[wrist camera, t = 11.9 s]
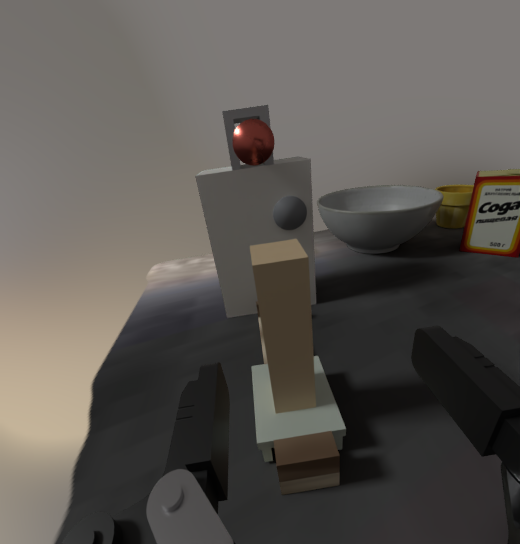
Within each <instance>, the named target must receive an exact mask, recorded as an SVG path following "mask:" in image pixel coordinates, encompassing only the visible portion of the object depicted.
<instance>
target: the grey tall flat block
mask: <svg viewBox="0 0 520 544" xmlns="http://www.w3.org/2000/svg"><path fill="white" fill-rule="evenodd" d="M223 118H224V124H225V129H226V136H227V142H228V148H229V154H230V160H231V167H224V168H218V169H211V170H204V171H201V172H200V173H198V174H197V175H196V181H197V185H198V190H199V194H200V199H201V203H202V207H203V212H204V216H205V221H206V225H207V229H208V234H209V238H210V242H211V247H212V252H213V256H214V261H215V265H216V269H217V274H218V278H219V283H220V287H221V291H222V296H223V300H224V305H225V309H226V314H227V318H230V317H237V316H243V315H250V314H256V313H258V312H257V306H256V301H258V299H257V293H256V286H255V280H254V274H253V267H252V260H251V253H250V246H252V245H259V244H265V243H272V242H279V241H285V240H292V239H297V240H298V242H299V243H300V245H301V246H302V248H303V249H304V251H305V252H306V254H307V256H308V258H309V277H310V297H311V305H314V304H316V284H315V259H314V234H313V210H312V186H311V163H310V162H311V160H310V159H307V158H302V157H293V158H286V159H279V160H273V152H272V154H271V156H270V157H269V158H268V160H266V161H265V162H264V163H262V164H260V165H248V164H245V165H240V160H239V158H238V157H237V156H236V154H235V152H234V149H233V143H232V142H233V135H234V132H235V127H234V124H235V123H242V122H243V121H245V120H248V119H258V120H261V121H263V122H264V123H266V124H267V125H268V126H269V128H270V119H269V110H268V105H264V106H257V107H250V108H243V109H236V110H229V111H223Z"/></svg>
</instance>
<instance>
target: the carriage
mask: <svg viewBox="0 0 520 544" xmlns="http://www.w3.org/2000/svg"><path fill="white" fill-rule="evenodd" d="M250 253H251V260H252V267H253V274H254V280H255V286H256V293H257V299H258V305H259V312H260V318H261V324H262V331H263V337H264V343H265V350H266V356H267V362H268V364H263V365H257V366H252V378H253V393H254V407H255V421H256V435H257V445H258V450H262V453H263V457H264V462H268V461H273V457H272V448H274V441H273V440H278V439H284V438H290V437H296V436H302V435H308V434H314V433H320V432H326V431H332V434H333V437H334V440H335V443H336V446H337V449H338V450H341V449H342V443H343V436H346V427H345V425H344V422H343V420H342V417H341V414H340V412H339V409H338V407H337V404H336V402H335V399H334V396H333V394H332V391H331V389H330V386H329V383H328V381H327V378H326V376H325V373H324V371H323V368H322V365H321V363H320V360H319V358H318V356H314V355H313V335H312V316H311V297H310V277H309V258H308V256H307V254H306V252H305V251H304V249H303V248H302V246H301V245H300V243H299V242H298V240H297V239H292V240H285V241H279V242H272V243H265V244H259V245H252V246H250Z"/></svg>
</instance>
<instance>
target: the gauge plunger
mask: <svg viewBox="0 0 520 544" xmlns="http://www.w3.org/2000/svg"><path fill="white" fill-rule="evenodd" d="M232 143H233V149H234V152H235V154H236V156H237V157H238V158H239V159H240V160H241V161H242V162H243V163H245V164H248V165H260V164H262V163H264V162H265V161H266V160H268V158H269V157H270V156H271V154H272V152H273V149H274V136H273V133H272V131H271V129H270V128H269V126H268V125H267V124H266V123H264V122H263V121H261V120H258V119H248V120H245V121H243V122H242V123H241V124H240V125H239V126H238V127H237V128H236V130H235V132H234V135H233V142H232Z"/></svg>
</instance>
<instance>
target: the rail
mask: <svg viewBox="0 0 520 544" xmlns="http://www.w3.org/2000/svg"><path fill="white" fill-rule="evenodd" d="M256 306H257V312H258V318H259V326H260V334H261V342H262V349H263V357H264V364H268V362H267V356H266V350H265V343H264V337H263V331H262V324H261V318H260V312H259V305H258V301H256ZM273 441H274V449H275V457H276V465H277V471H278V476H279V482H280V487H281V493H282V495H284V494H290V493H296V492H302V491H308V490H314V489H320V488H326V487H332V486H338V485H339V476H340V455H339V452H338V449H337V446H336V443H335V440H334V437H333V434H332V431H326V432H320V433H314V434H308V435H302V436H296V437H290V438H284V439H278V440H273Z"/></svg>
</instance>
